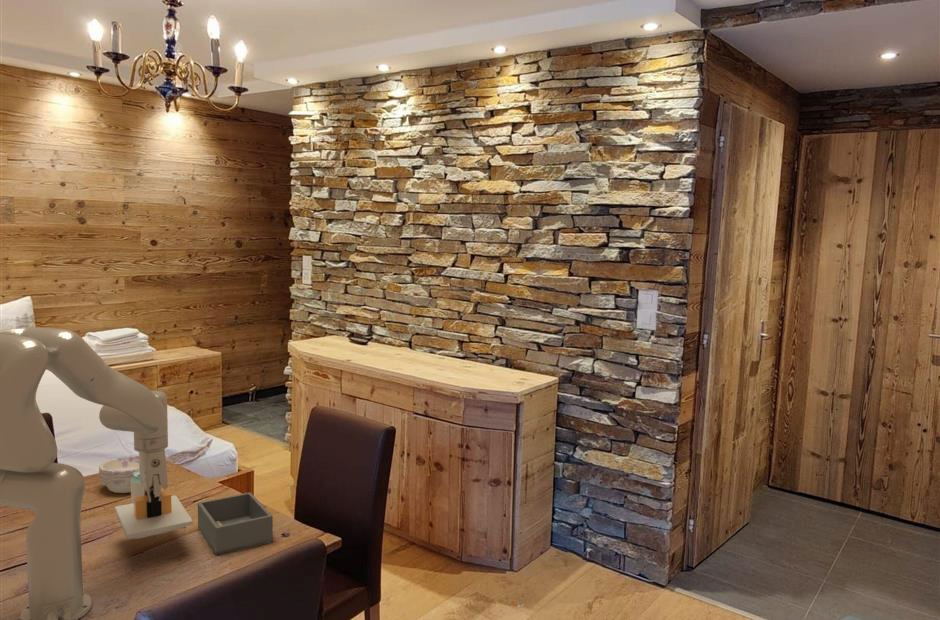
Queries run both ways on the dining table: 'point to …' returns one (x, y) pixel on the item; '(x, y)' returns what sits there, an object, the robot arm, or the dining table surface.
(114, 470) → the paper bowls
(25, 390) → the robot arm
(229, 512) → the parts tub
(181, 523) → the lid
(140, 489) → the can
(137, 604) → the dining table surface
